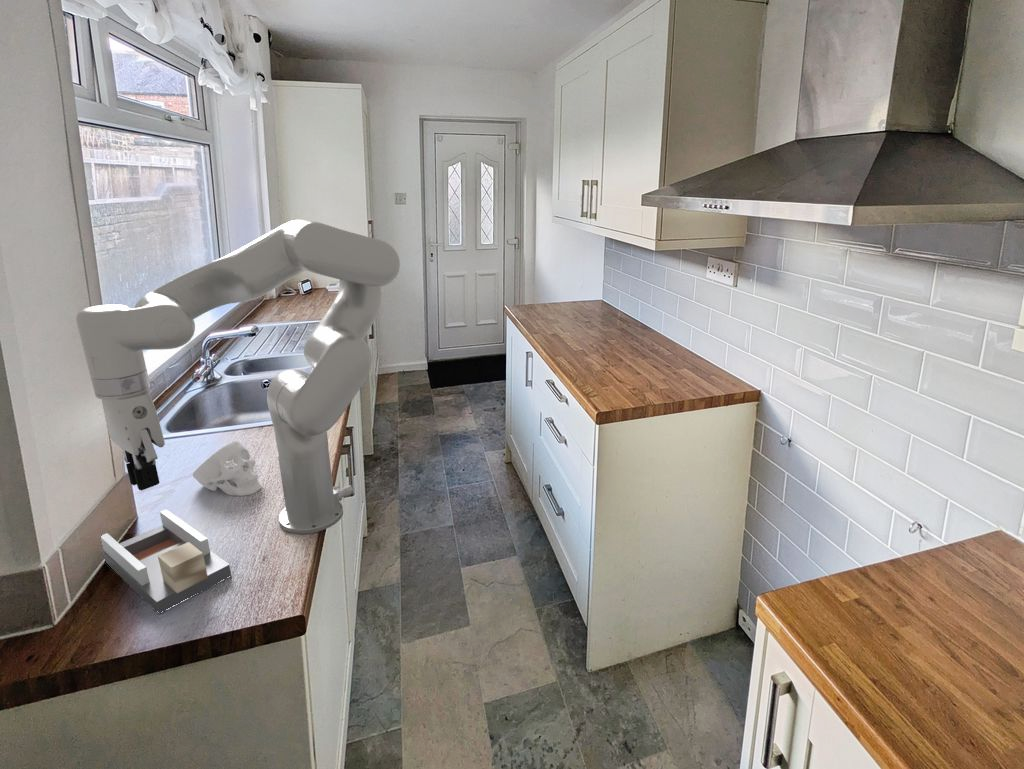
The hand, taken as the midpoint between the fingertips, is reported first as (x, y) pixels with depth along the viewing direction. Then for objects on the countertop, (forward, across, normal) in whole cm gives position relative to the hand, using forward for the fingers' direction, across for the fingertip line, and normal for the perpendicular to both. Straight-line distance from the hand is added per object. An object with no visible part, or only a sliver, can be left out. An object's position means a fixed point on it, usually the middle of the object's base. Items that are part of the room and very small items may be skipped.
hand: (145, 483), depth 99 cm
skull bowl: (+17, +19, -22) cm, 34 cm away
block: (+15, -10, +1) cm, 18 cm away
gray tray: (+17, -1, 0) cm, 17 cm away
